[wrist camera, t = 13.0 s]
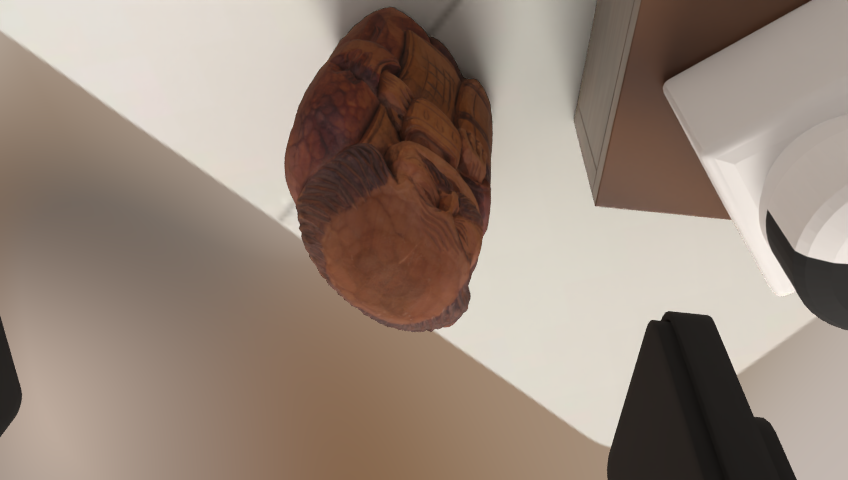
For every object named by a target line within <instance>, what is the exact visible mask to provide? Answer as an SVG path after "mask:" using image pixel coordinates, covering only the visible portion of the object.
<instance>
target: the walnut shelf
mask: <svg viewBox="0 0 848 480" xmlns="http://www.w3.org/2000/svg"><path fill="white" fill-rule="evenodd" d="M809 1H811V0H597V5H596V10H595V15H594V20H593V25H592V30H591V36H590V41H589V46H588V51H587V56H586V61H585V66H584V72H583V77H582V82H581V87H580V92H579V97H578V103H577V107H576V113H575V118H574V124H575V128H576V132H577V136H578V140H579V144H580V148H581V152H582V156H583V160H584V164H585V168H586V172H587V176H588V180H589V184H590V188H591V192H592V196H593V200H594V204H595V206H599V207H609V208H619V209H628V210H638V211H648V212H658V213H668V214H678V215H688V216H698V217H708V218H718V219H728V220H732V219H731V217H730V216H729V214H728V212H727V210H726V208H725V207H724V205H723V203H722V201H721V199H720V197H719V195H718V194H717V192H716V190H715V188H714V186H713V184H712V182H711V180H710V179H709V177H708V175H707V173H706V171H705V169H704V167H703V165H702V164H701V162H700V160H699V158H698V156H697V154H696V152H695V150H694V149H693V147H692V145H691V143H690V141H689V139H688V137H687V135H686V134H685V132H684V130H683V128H682V126H681V124H680V122H679V120H678V119H677V117H676V115H675V113H674V111H673V109H672V107H671V105H670V104H669V102H668V100H667V98H666V96H665V94H664V92H663V86H664V83H665V82H666V81H667V80H668V79H670V78H672V77H674V76H676V75H677V74H679V73H681V72H683V71H685V70H686V69H688V68H690V67H692V66H694V65H696V64H697V63H699V62H701V61H703V60H705V59H706V58H708V57H710V56H712V55H714V54H715V53H717V52H719V51H721V50H723V49H724V48H726V47H728V46H730V45H732V44H733V43H735V42H737V41H739V40H741V39H742V38H744V37H746V36H748V35H750V34H752V33H753V32H755V31H757V30H759V29H761V28H762V27H764V26H766V25H768V24H770V23H771V22H773V21H775V20H777V19H779V18H780V17H782V16H784V15H786V14H788V13H789V12H791V11H793V10H795V9H797V8H799V7H800V6H802V5H804V4H806V3H808V2H809Z"/></svg>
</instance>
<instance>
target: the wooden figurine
mask: <svg viewBox="0 0 848 480" xmlns="http://www.w3.org/2000/svg"><path fill="white" fill-rule="evenodd" d="M492 135H493V131H492V114H491V106H490V102H489V99H488V97H487V95H486V92H485V90H484V88H483V87H482V85H481V84H480V83H479V82H478V81H477V80H476V79H466V78H464V77H463V76H462V74H461V72H460V70H459V68H458V66H457V64H456V62H455V60H454V58H453V57H452V55H451V54H450V52H449V51H448V49H447V48H446V47H445V46H444V45H443V44H442V43H441V42H440V41H439V40H437V39H435V38H433V37H428V35H427V34H426V32H425V31H424V30H423V29H422V28H421V27H420V26H419V25H418V24H417V23H416V22H415V21H414V20H412V19H411V18H410V17H408V16H407V15H405V14H404V13H402V12H400V11H398V10H397V9H395V8H394V7H388V8H383V9H380V10H378V11H375V12H373V13H371V14H370V15H368V16H366V17H364V19H363V20H362V21H360V22H359V23H358V24H356V25H355V26H354V27H353V28H352V29H351V31H349V33H348V34H347V35H346V36H345V37H344V38H342V39H341V40H340V41H339V43H338V45H337V47H336V48H335V50H334V51H333V53H332V54H331V56H330V58H329V59H328V61H327V62H326V63H325V64H324V65H323V66H322V68H321V69H320V70H319V71H318V73H317V74H316V76H315V77H314V79H313V81H312V82H311V84H310V85H309V87H308V89H307V90H306V92H305V94H304V96H303V98H302V101H301V103H300V104H299V107H298V110H297V114H296V117H295V122H294V125H293V128H292V130H291V132H290V136H289V140H288V144H287V148H286V153H285V162H284V164H285V178H286V182H287V185H288V188H289V191H290V194H291V196H292V198H293V200H294V202H295V204H296V209H297V212H298V221H299V223H300V227H299V229H300V231H301V232H302V235H301V237H302V240H303V243H304V245H305V249H306V250H307V251H308V253H309V257H310V258H311V260H312V261H313V263H314V264H315V265H316V266H317V269H318V271H319V273H320V274H321V276H322V277H323V278H325V279H326V281H327V283H328V284H329V285H330V286H331V287H332V288H333V289H334V290H336V291H337V293H338V295H340V296H342V297H343V298H344V300H346V301H347V302H349V303H350V304H351V306H354V307H356V308H358V309H359V310H360V311H362V313H363V314H364V315H366V316H369V317H370V318H371V319H374V320H375V321H377V322H378V323H381V324H384V325H385V326H387V327H393V328H396V329H398V330H404V331H411V332H424V331H425V330H428V331H430V332H432V331H433V330H434V329H440V328H442V327H450V326H451V325H453V324H454V323H455V322H456V321H457V320H458V319H459V318H460V317H461V316H462V314H463V313H464V312H466V311H467V309H468V304H469V301H470V291H469V287H468V285H469V282H470V279H471V275H472V272H473V271H474V269H475V267H476V265H477V262H478V256H479V254H480V250H481V246H482V239H483V236H484V234H485V232H486V230H487V227H488V222H489V215H490V204H491V187H490V182H491V152H492Z"/></svg>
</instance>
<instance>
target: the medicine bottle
mask: <svg viewBox="0 0 848 480" xmlns="http://www.w3.org/2000/svg"><path fill="white" fill-rule="evenodd" d="M663 92H664V94H665V96H666V98H667V100H668V102H669V104H670V105H671V107H672V109H673V111H674V113H675V115H676V117H677V119H678V120H679V122H680V124H681V126H682V128H683V130H684V132H685V134H686V135H687V137H688V139H689V141H690V143H691V145H692V147H693V149H694V150H695V152H696V154H697V156H698V158H699V160H700V162H701V164H702V165H703V167H704V169H705V171H706V173H707V175H708V177H709V179H710V180H711V182H712V184H713V186H714V188H715V190H716V192H717V194H718V195H719V197H720V199H721V201H722V203H723V205H724V207H725V208H726V210H727V212H728V214H729V216H730V217H731V219H732V221H733V223H734V225H735V226H736V228H737V230H738V232H739V234H740V235H741V237H742V239H743V241H744V243H745V244H746V246H747V248H748V250H749V251H750V253H751V255H752V257H753V259H754V260H755V262H756V264H757V266H758V268H759V269H760V271H761V273H762V275H763V277H764V278H765V280H766V282H767V284H768V285H769V287H770V289H771V291H772V292H773V293H774V294H776V295H777V296H781V297H782V296H786V295H789V294H791V293H793V292H797V294H798V295H799V297H800V298H801V300H802V302H803V303H804V305H805V306H806V307H807V308H808V309H809V310H810V311H811V312H812V313H813V314H815V315H816V316H817V317H819V318H820V319H821V320H823V321H825V322H827V323H829V324H831V325H833V326H836V327H839V328H841V329H844V330H848V0H811V1H809V2H808V3H806V4H804V5H802V6H800V7H799V8H797V9H795V10H793V11H791V12H789V13H788V14H786V15H784V16H782V17H780V18H779V19H777V20H775V21H773V22H771V23H770V24H768V25H766V26H764V27H762V28H761V29H759V30H757V31H755V32H753V33H752V34H750V35H748V36H746V37H744V38H742V39H741V40H739V41H737V42H735V43H733V44H732V45H730V46H728V47H726V48H724V49H723V50H721V51H719V52H717V53H715V54H714V55H712V56H710V57H708V58H706V59H705V60H703V61H701V62H699V63H697V64H696V65H694V66H692V67H690V68H688V69H686V70H685V71H683V72H681V73H679V74H677V75H676V76H674V77H672V78H670V79H668V80H667V81H666V82H665V83H664V86H663Z"/></svg>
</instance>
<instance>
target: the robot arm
mask: <svg viewBox="0 0 848 480" xmlns="http://www.w3.org/2000/svg"><path fill="white" fill-rule="evenodd" d="M21 400H22V393H21V387H20V383H19V380H18V377H17V373H16V370H15V366H14V363H13V359H12V356H11V352H10V349H9V345H8V342H7V338H6V335H5V331H4V328H3V324H2V321H1V317H0V437H1V435H2V434H3V432H4V431H5V430H6V429H7V427H8V426H9V425H10V423H11V422H12V421H13V419H14V418H15V416H16V415H17V413H18V411H19V408H20V405H21ZM607 477H608V480H797V479H796V477H795V475H794V473H793V470H792V468H791V466H790V464H789V461H788V459H787V457H786V454H785V452H784V450H783V448H782V445H781V443H780V441H779V439H778V437H777V434H776V432H775V430H774V429H773V427H772V425H771V424H770V423H769V422H768V421H767V420H766V419H764V418H760V417H754V416H753V414H752V411H751V409H750V406H749V404H748V402H747V399H746V397H745V394H744V392H743V390H742V387H741V385H740V383H739V380H738V378H737V375H736V373H735V371H734V368H733V366H732V363H731V361H730V359H729V356H728V354H727V351H726V349H725V347H724V344H723V342H722V340H721V337H720V335H719V332H718V330H717V328H716V325H715V323H714V321H713V319H712V318H711V317H710V316H708V315H700V314H691V313H681V312H671V311H668V312H666V313H665V314H664V315H663V317H662V320H661V321H656V320H651V321H650V322H649V324H648V326H647V328H646V332H645V335H644V338H643V342H642V345H641V348H640V352H639V355H638V359H637V362H636V365H635V369H634V372H633V375H632V379H631V382H630V385H629V389H628V392H627V396H626V399H625V402H624V406H623V409H622V412H621V416H620V419H619V423H618V426H617V429H616V433H615V436H614V439H613V443H612V446H611V449H610V453H609V458H608V466H607Z"/></svg>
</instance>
